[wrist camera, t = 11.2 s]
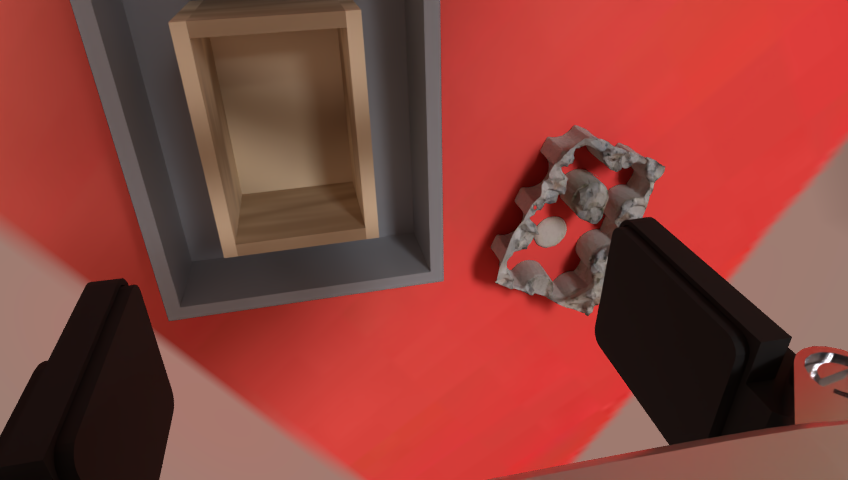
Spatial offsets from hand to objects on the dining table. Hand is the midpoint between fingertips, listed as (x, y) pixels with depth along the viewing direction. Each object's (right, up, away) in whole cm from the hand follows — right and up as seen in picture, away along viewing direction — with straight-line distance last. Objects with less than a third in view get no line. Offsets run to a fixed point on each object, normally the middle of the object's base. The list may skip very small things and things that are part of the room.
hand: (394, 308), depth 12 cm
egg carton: (+9, +4, +25) cm, 27 cm away
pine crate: (-6, +8, +18) cm, 20 cm away
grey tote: (-7, +8, +18) cm, 21 cm away
